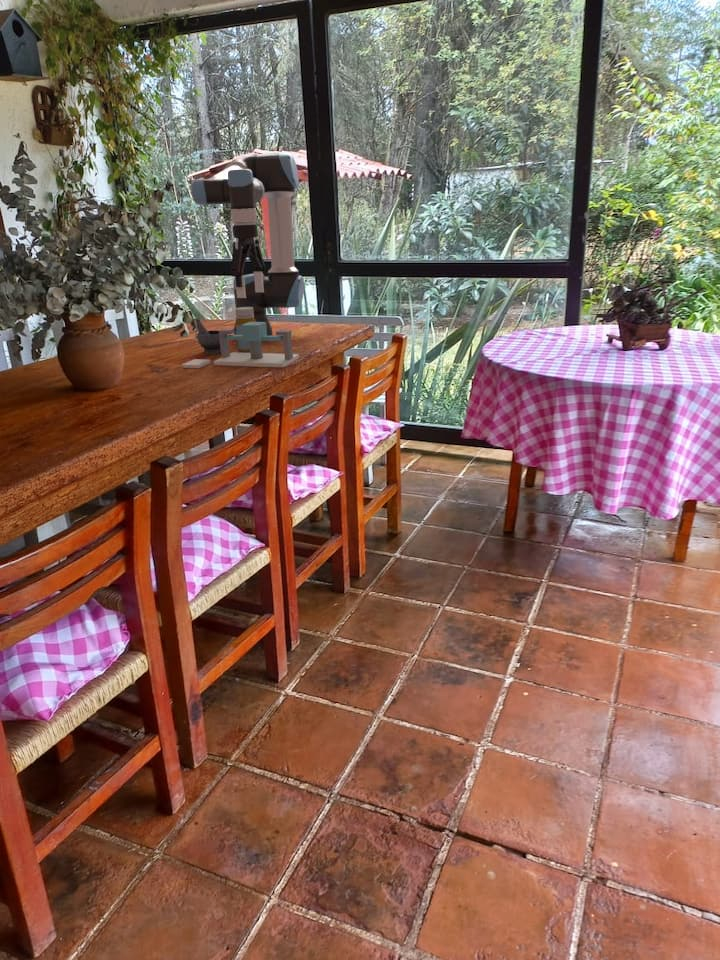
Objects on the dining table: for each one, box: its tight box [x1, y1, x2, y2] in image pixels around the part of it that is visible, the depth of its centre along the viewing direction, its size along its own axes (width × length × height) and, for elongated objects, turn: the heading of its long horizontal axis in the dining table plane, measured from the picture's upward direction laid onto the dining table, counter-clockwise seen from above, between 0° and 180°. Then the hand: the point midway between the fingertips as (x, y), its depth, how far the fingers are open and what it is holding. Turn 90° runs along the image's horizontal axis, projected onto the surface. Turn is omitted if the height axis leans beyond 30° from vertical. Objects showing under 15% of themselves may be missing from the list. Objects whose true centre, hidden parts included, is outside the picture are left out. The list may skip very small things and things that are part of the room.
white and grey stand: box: [213, 328, 300, 368], centre depth 228 cm, size 14×24×11 cm, turn 73°
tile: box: [181, 358, 212, 369], centre depth 228 cm, size 8×6×1 cm
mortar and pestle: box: [195, 317, 221, 355], centre depth 244 cm, size 11×9×12 cm
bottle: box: [234, 307, 256, 353], centre depth 243 cm, size 7×7×15 cm
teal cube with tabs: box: [227, 322, 283, 342], centre depth 226 cm, size 6×19×5 cm, turn 73°
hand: (250, 295), depth 222 cm, fingers open, 13 cm apart
